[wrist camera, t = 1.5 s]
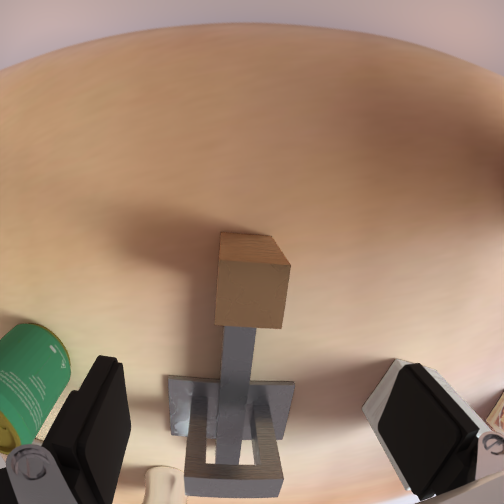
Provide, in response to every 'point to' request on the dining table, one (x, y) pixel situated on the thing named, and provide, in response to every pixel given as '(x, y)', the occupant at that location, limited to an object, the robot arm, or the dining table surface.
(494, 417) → the coffeecake box
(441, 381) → the supplement box
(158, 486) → the beer glass
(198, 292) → the dining table surface
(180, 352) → the dining table surface
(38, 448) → the robot arm
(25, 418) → the beverage can
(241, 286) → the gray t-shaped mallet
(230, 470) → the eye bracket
